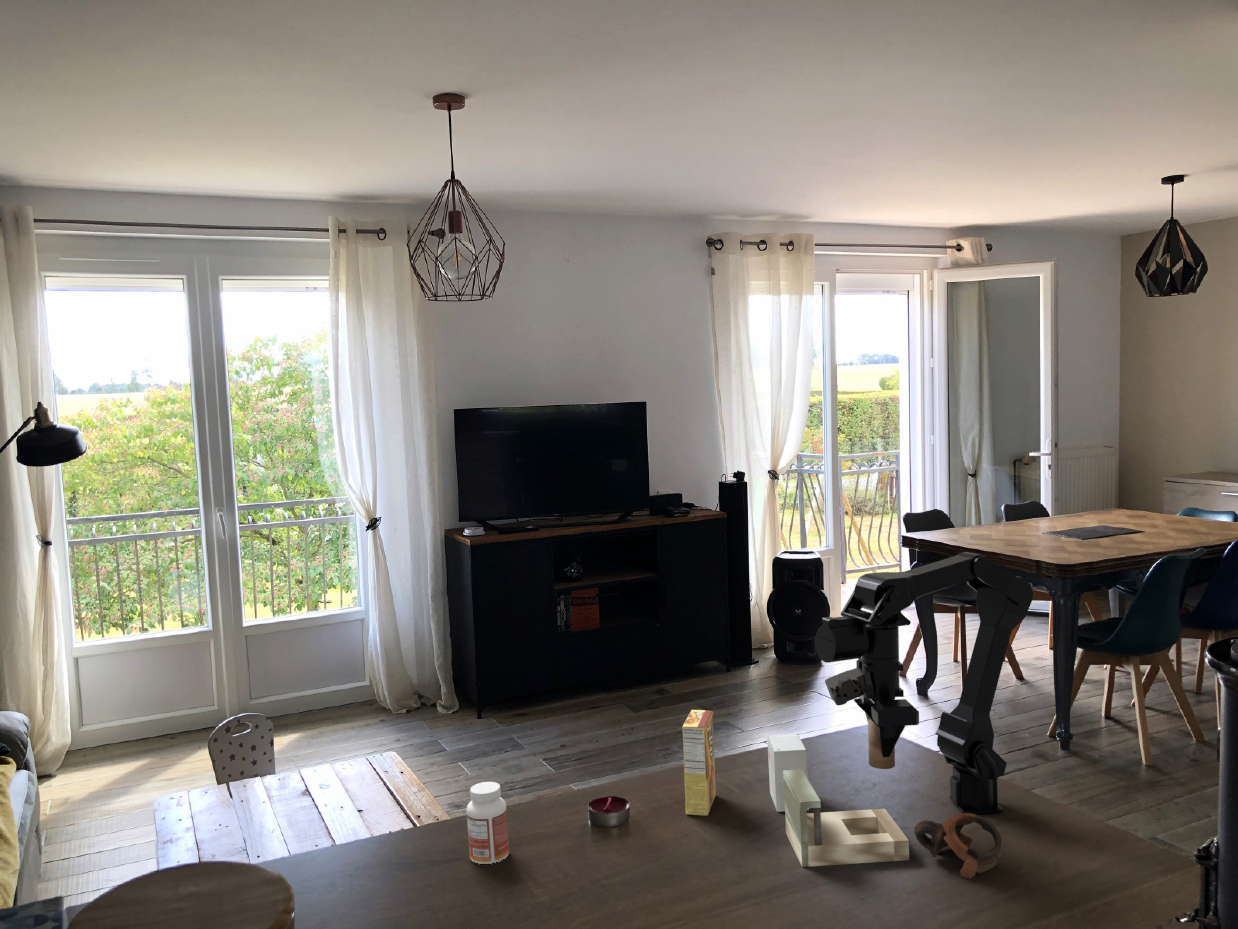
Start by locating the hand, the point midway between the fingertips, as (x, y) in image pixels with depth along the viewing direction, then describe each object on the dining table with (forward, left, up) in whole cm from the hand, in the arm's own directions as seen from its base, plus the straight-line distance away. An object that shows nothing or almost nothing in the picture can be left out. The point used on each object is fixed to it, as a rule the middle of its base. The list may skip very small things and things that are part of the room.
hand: (881, 751), depth 147 cm
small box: (+13, -12, -13) cm, 21 cm away
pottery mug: (-7, +12, -13) cm, 19 cm away
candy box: (+28, -13, -13) cm, 33 cm away
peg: (0, 0, -2) cm, 2 cm away
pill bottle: (+63, +1, -13) cm, 64 cm away
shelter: (+8, +5, -12) cm, 16 cm away
